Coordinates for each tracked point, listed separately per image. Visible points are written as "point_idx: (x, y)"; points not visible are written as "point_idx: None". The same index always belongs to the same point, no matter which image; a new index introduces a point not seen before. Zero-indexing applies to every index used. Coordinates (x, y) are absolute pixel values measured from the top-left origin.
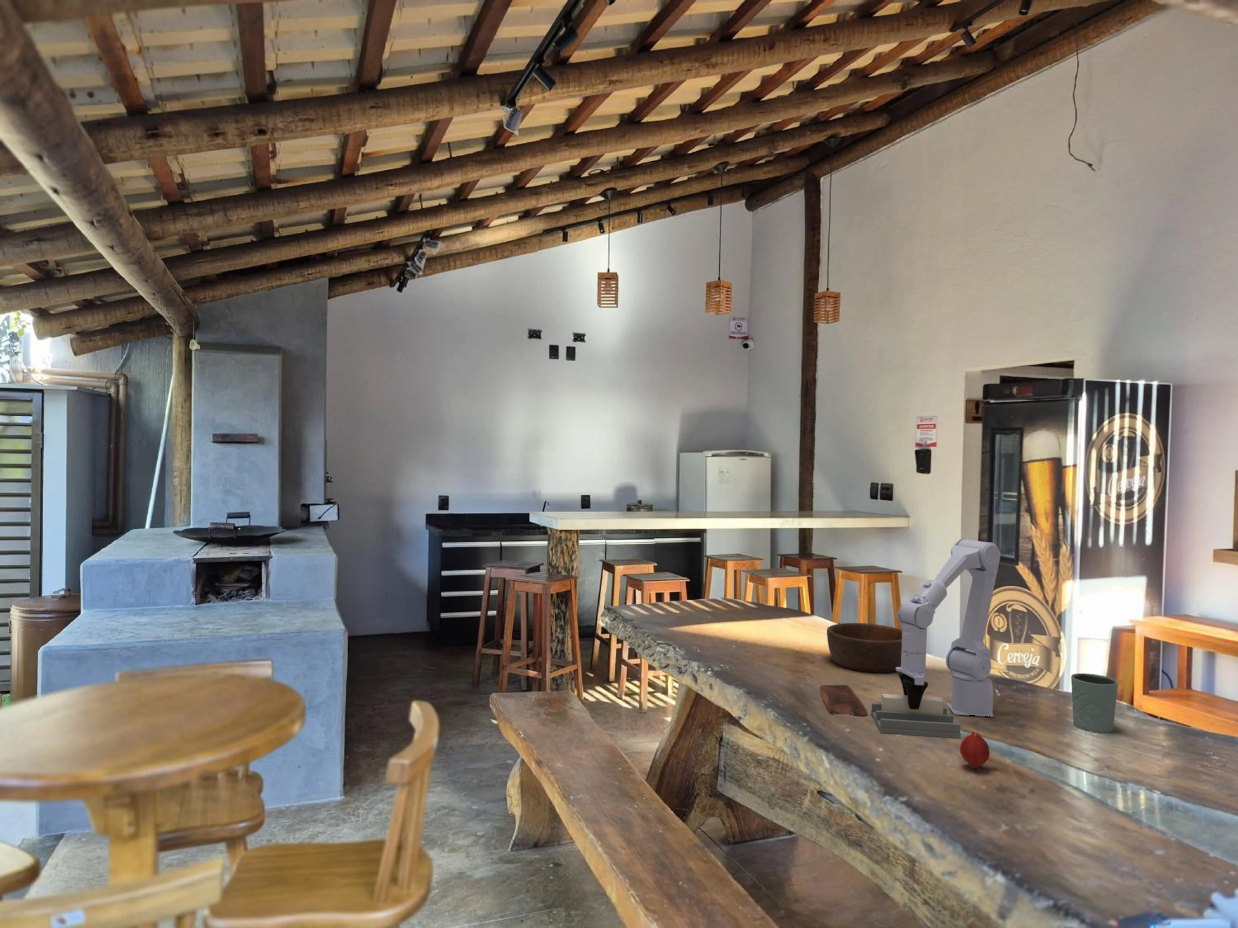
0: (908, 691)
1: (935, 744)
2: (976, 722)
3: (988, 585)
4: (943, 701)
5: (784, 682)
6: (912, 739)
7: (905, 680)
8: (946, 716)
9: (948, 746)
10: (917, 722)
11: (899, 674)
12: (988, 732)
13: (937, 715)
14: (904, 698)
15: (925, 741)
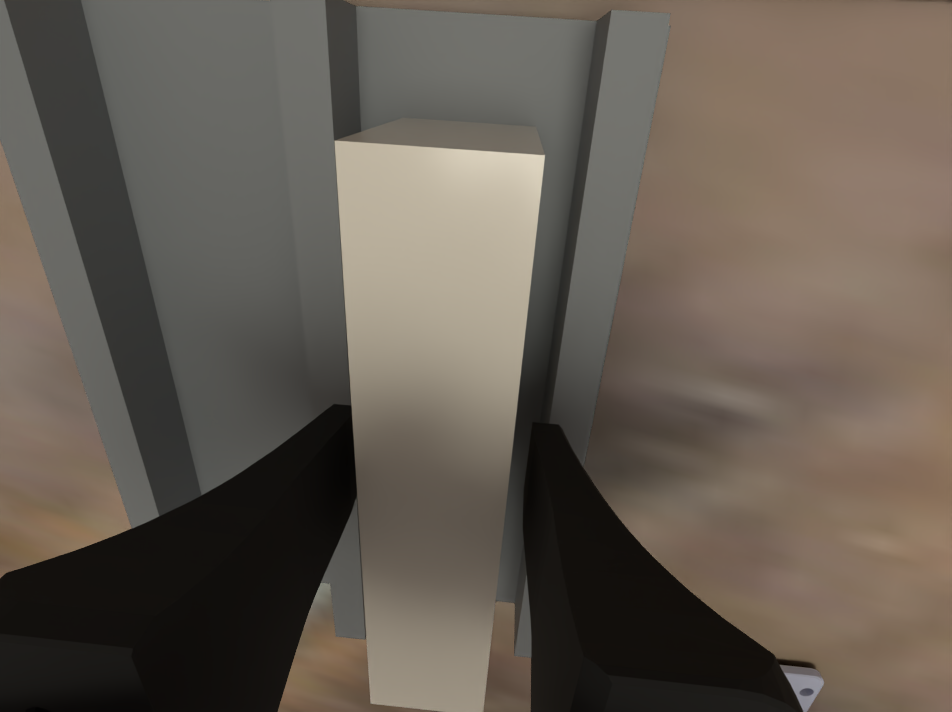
0: (159, 521)
1: (3, 382)
2: (499, 687)
3: None
4: (371, 698)
5: None
6: (23, 255)
7: (28, 660)
8: (335, 600)
9: (9, 444)
10: (79, 367)
11: (642, 690)
12: (346, 680)
13: None
14: (366, 420)
15: (29, 337)
